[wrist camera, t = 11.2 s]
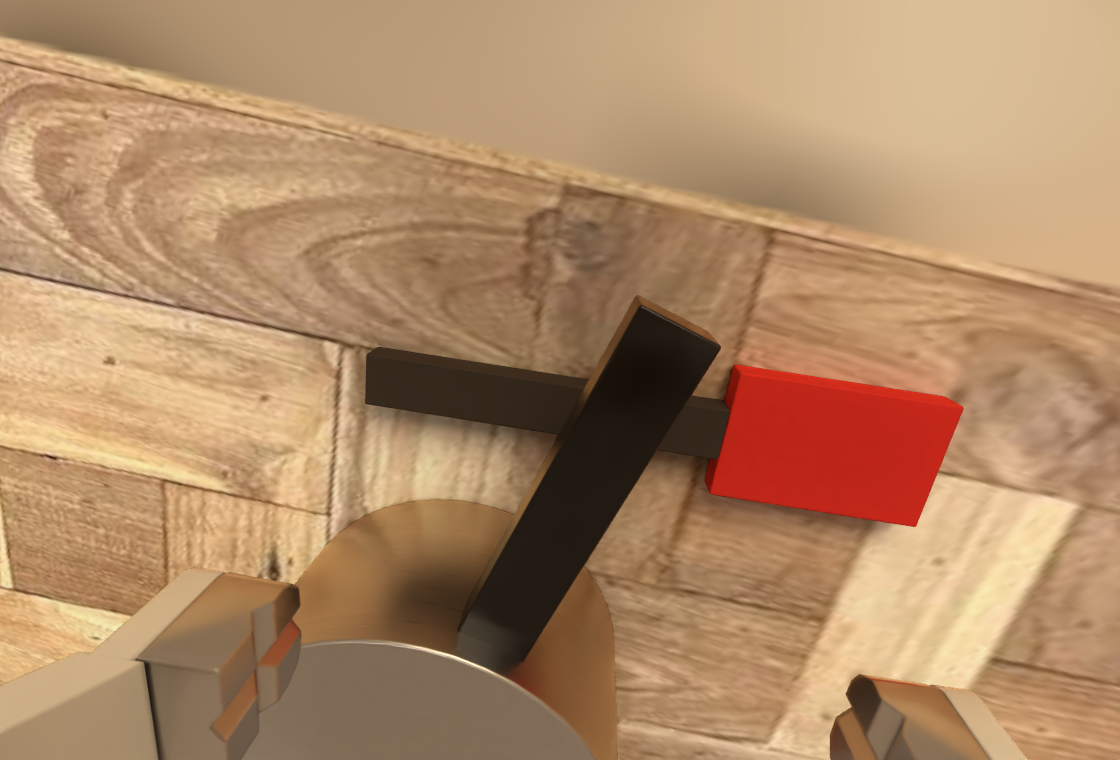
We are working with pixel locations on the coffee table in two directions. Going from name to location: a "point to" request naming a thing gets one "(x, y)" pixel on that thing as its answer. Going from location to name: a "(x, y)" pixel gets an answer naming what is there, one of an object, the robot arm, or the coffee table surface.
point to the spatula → (723, 429)
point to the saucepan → (487, 593)
